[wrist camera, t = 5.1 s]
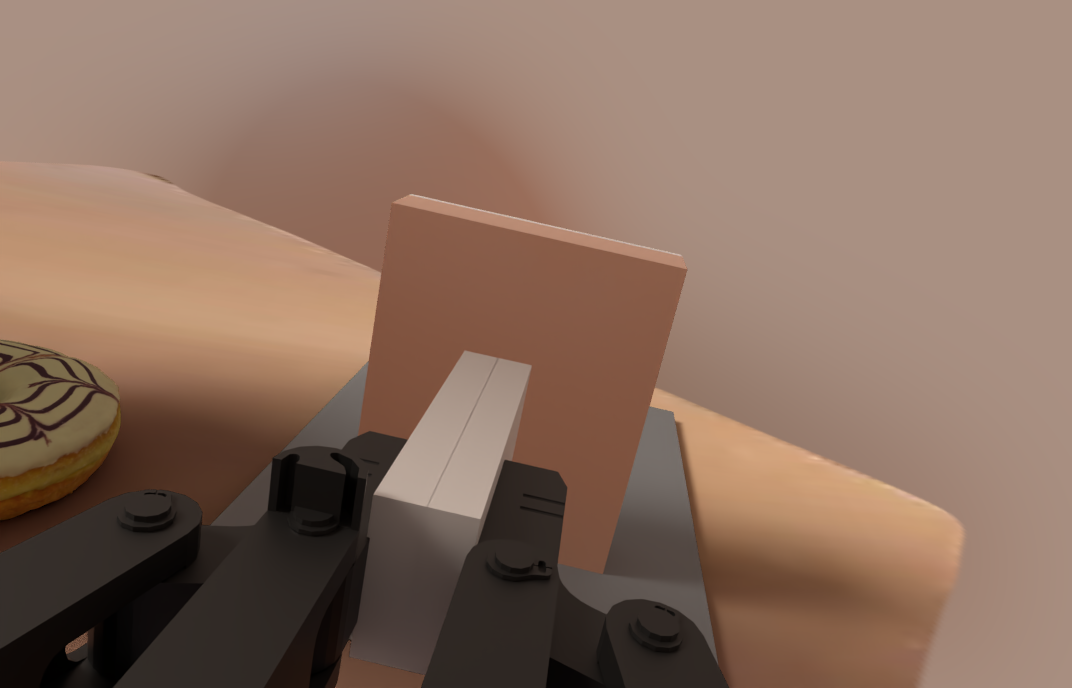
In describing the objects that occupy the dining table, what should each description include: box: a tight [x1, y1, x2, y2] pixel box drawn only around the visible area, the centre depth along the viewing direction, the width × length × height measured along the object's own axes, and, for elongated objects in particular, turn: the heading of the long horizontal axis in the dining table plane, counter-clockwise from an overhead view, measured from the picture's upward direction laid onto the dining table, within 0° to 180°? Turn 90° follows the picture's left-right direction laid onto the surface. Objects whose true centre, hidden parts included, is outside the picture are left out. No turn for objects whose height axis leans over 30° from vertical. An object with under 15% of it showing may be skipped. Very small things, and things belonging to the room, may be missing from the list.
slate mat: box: [210, 361, 718, 664], centre depth 35 cm, size 18×24×1 cm
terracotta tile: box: [358, 194, 687, 574], centre depth 28 cm, size 10×2×12 cm, turn 84°
